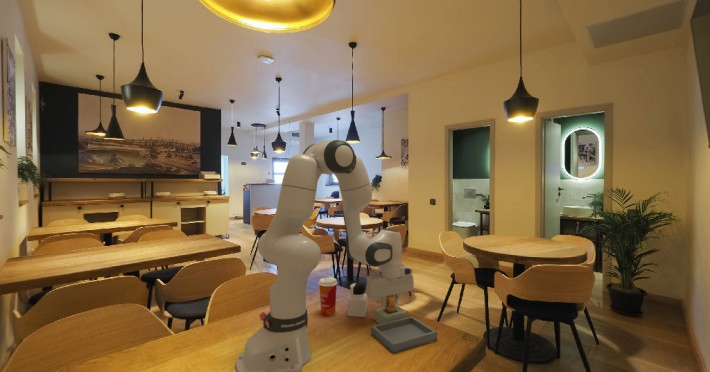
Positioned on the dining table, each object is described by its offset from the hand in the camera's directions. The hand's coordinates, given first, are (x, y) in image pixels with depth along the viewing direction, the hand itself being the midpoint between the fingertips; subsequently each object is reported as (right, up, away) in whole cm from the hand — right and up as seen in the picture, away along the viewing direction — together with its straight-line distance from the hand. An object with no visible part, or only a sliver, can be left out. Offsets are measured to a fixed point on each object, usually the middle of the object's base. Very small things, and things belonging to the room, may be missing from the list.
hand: (390, 305), depth 125 cm
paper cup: (-25, -6, +7) cm, 26 cm away
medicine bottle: (-13, -6, +7) cm, 16 cm away
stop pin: (0, -6, 0) cm, 6 cm away
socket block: (0, -6, 0) cm, 6 cm away
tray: (+3, -7, -13) cm, 15 cm away
